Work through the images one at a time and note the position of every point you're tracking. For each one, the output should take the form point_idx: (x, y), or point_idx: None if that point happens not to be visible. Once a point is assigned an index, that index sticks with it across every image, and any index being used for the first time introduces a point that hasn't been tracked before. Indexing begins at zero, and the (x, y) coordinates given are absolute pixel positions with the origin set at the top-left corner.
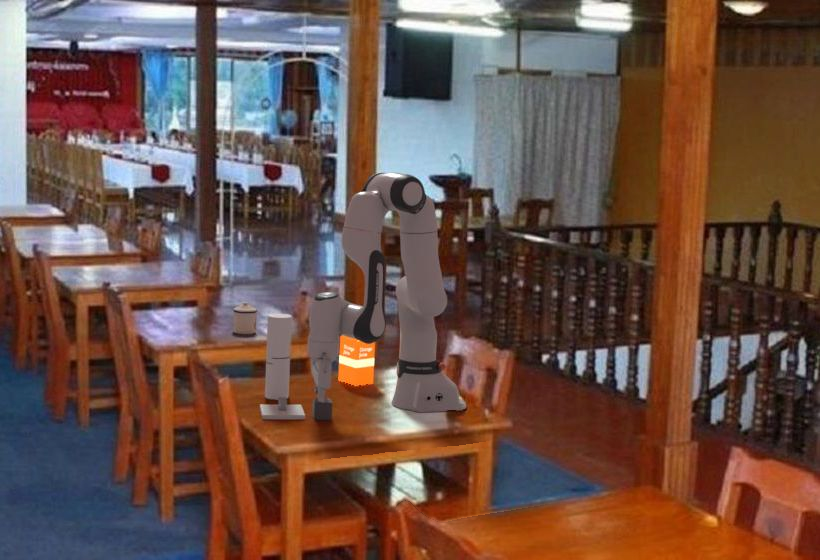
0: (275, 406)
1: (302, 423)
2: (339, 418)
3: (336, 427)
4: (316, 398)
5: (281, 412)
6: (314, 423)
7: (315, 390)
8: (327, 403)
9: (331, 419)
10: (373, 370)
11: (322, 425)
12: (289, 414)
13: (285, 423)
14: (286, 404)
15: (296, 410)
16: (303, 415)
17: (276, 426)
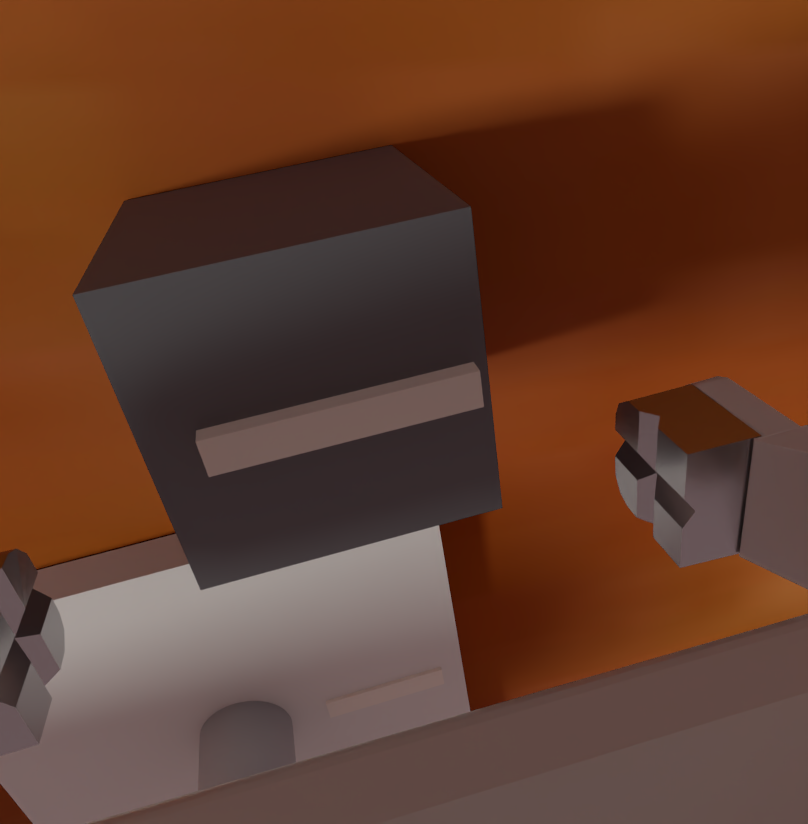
0: (128, 808)
1: (583, 461)
2: (267, 10)
3: (769, 42)
4: (187, 538)
5: (360, 709)
6: (579, 346)
7: (44, 684)
8: (475, 299)
9: (393, 147)
10: None
11: (665, 243)
12: (425, 635)
13: (587, 590)
14: (252, 759)
15: (234, 620)
16: None
17: (679, 624)
